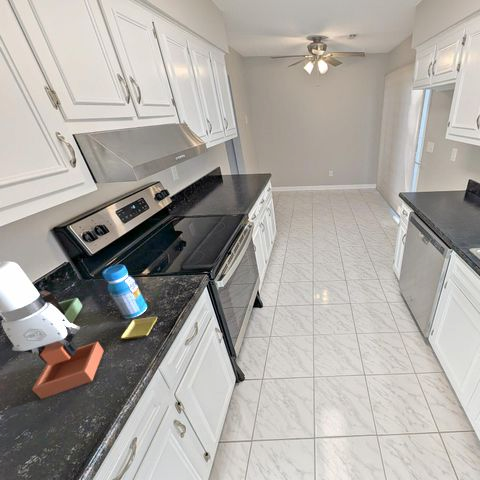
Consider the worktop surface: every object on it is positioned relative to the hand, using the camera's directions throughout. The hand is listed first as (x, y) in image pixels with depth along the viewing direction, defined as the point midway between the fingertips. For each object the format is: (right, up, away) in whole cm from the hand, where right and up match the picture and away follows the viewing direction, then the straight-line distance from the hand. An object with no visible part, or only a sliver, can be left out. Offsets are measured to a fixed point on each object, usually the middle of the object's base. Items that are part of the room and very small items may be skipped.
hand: (62, 355), depth 73 cm
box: (-26, +3, +25) cm, 36 cm away
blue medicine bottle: (+2, +5, +27) cm, 27 cm away
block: (0, 0, 0) cm, 0 cm away
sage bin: (-26, +2, +25) cm, 36 cm away
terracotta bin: (0, -7, +4) cm, 8 cm away
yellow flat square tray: (+11, +1, +17) cm, 20 cm away
